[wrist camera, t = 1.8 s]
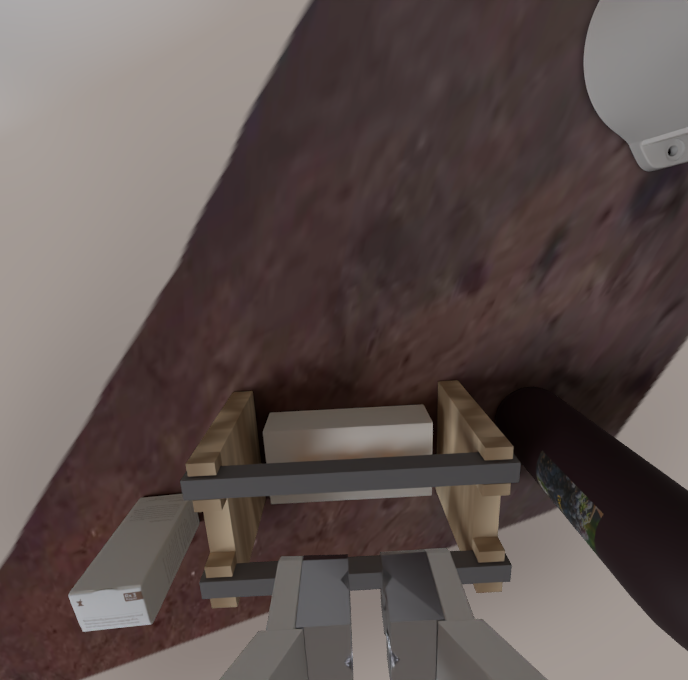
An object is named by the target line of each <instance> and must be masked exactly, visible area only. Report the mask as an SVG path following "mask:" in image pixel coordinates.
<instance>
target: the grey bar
mask: <svg viewBox="0 0 688 680" xmlns="http://www.w3.org/2000/svg"><path fill="white" fill-rule="evenodd" d="M450 553H451V556H452V559H453V561H454V564H455V567H456V569H457V572H458V575H459V578H460V580H461V583H462V584H476V583H493V582H510V578H511V563H510V561H509V559H508V558H507V556H506V554H505V558H504V561H499V562H481V563H478V560H477V558H476V556H475V554H474V551H473V550H466V551H450ZM278 562H279V561H270V562H252V563H236V566H235V570H234V573H233V576H232V577H215V578H206V573H205V570H204V572H203V575H202V577H201V580H200V582H199V583H200V589H201V594H202V599H212V598H229V597H247V596H264V595H272V594H273V588H274V582H275V577H276V571H277V566H278ZM348 566H349V584H350V591H352V590H370V589H380V582H381V581H382V580H381V572H380V555H377V556H359V557H348Z"/></svg>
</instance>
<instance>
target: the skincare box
mask: <svg viewBox="0 0 688 680" xmlns="http://www.w3.org/2000/svg"><path fill="white" fill-rule="evenodd" d="M198 526H199V517H198V512H194V507H193V502H192V500H186V501H184V499H183V494H174V495H164V496H154V497H145V498H140V499H139V500H138V502H137V503H136V504H135V506H134V507H133V508H132V510H131V511H130V512H129V514H128V515H127V516H126V518H125V519H124V520H123V522H122V523H121V524H120V526H119V527H118V528H117V530H116V531H115V532H114V534H113V535H112V536H111V538H110V539H109V540H108V542H107V543H106V544H105V546H104V547H103V548H102V550H101V551H100V552H99V554H98V555H97V556H96V558H95V559H94V560H93V562H92V563H91V565H90V566H89V567H88V568H87V570H86V571H85V573H84V574H83V575H82V577H81V578H80V579H79V581H78V582H77V583H76V585H75V586H74V587H73V589H72V590H71V591H70V593H69V599H70V602H71V604H72V607H73V609H74V612H75V614H76V617H77V620H78V622H79V624H80V626H81V628H82V631H83V632H86V631H94V630H103V629H113V628H122V627H131V626H140V625H150V624H152V623H153V622H154V620H155V618H156V616H157V614H158V612H159V609H160V607H161V605H162V603H163V601H164V599H165V596H166V594H167V592H168V590H169V588H170V586H171V583H172V581H173V579H174V577H175V575H176V573H177V571H178V568H179V566H180V564H181V562H182V560H183V558H184V556H185V554H186V552H187V549H188V547H189V545H190V543H191V541H192V539H193V537H194V534H195V532H196V530H197V528H198Z"/></svg>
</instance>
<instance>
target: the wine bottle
mask: <svg viewBox="0 0 688 680" xmlns="http://www.w3.org/2000/svg"><path fill="white" fill-rule="evenodd" d="M495 423H496V426H497V427H498V429H499V430H500V431H501V432H502V433H503V435H504V436H505V437H506V438H507V439H508V440H509V442H510V443H511V444H512V445H513V446H514V448H513V453H514V454H515V456H516V457H517V458H518V459H519V461H520V462H521V463H522V464H523V465H524V467H525V468H526V469H527V470H528V472H529V473H530V474H531V475H532V476H533V478H534V479H535V480H536V481H537V483H538V484H539V485H540V486H541V487H542V489H543V490H544V491H545V492H546V493H547V495H548V496H549V497H550V498H551V500H552V501H553V502H554V503H555V504H556V506H557V507H558V508H559V509H560V511H561V512H562V513H563V514H564V515H565V517H566V518H567V519H568V520H569V521H570V523H571V524H572V525H573V526H574V527H575V529H576V530H577V531H578V532H579V534H580V535H581V536H582V537H583V539H584V540H585V541H586V542H587V543H588V545H589V546H590V547H591V548H592V549H593V551H594V552H595V553H596V554H597V556H598V557H599V558H600V559H601V560H602V562H603V563H604V564H605V565H606V566H607V568H608V569H609V570H610V571H611V573H612V574H613V575H614V576H615V578H616V579H617V580H618V581H619V582H620V584H621V585H622V586H623V587H624V589H625V590H626V591H627V592H628V593H629V595H630V596H631V597H632V598H633V599H634V600H635V601H636V602H637V604H638V605H639V606H641V608H642V609H643V610H644V611H645V612H646V614H647V615H648V616H649V617H650V618H651V619H652V620H653V621H654V622H655V623H656V624H657V625H658V626H659V627H660V628H661V629H662V630H664V631H665V632H666V633H667V634H668V635H670V636H671V637H672V638H673V639H674V640H675V641H676V642H677V643H679V644H680V645H681V646H682V647H684V648H685V649H686V650H687V651H688V490H686V489H685V488H684V487H682V486H681V485H679V484H678V483H676V482H675V481H674V480H672V479H671V478H670V477H668V476H667V475H666V474H664V473H663V472H661V471H660V470H658V469H657V468H656V467H654V466H653V465H652V464H650V463H649V462H647V461H646V460H645V459H643V458H642V457H641V456H639V455H638V454H636V453H635V452H633V451H632V450H631V449H629V448H628V447H627V446H625V445H624V444H622V443H621V442H620V441H618V440H617V439H616V438H614V437H613V436H611V435H610V434H609V433H607V432H606V431H605V430H603V429H602V428H600V427H599V426H598V425H596V424H595V423H593V422H592V421H591V420H589V419H588V418H587V417H585V416H584V415H582V414H581V413H580V412H578V411H577V410H575V409H574V408H573V407H571V406H570V405H569V404H567V403H566V402H564V401H563V400H562V399H560V398H559V397H557V396H556V395H555V394H553V393H551V392H550V391H548V390H544V389H541V388H536V387H527V388H523V389H519V390H517V391H515V392H513V393H511V394H510V395H509V396H507V397H506V398H505V399H504V400H503V402H502V403H501V404H500V406H499V408H498V410H497V413H496V422H495Z"/></svg>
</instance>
